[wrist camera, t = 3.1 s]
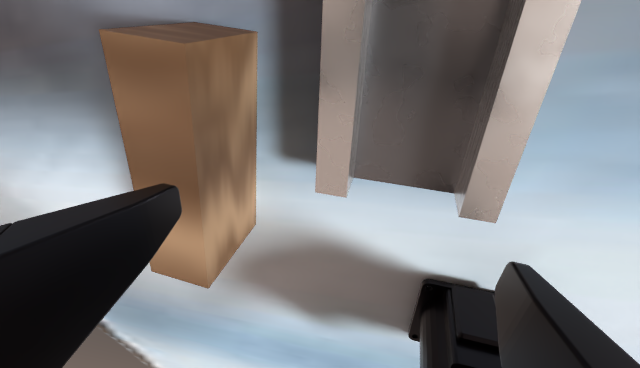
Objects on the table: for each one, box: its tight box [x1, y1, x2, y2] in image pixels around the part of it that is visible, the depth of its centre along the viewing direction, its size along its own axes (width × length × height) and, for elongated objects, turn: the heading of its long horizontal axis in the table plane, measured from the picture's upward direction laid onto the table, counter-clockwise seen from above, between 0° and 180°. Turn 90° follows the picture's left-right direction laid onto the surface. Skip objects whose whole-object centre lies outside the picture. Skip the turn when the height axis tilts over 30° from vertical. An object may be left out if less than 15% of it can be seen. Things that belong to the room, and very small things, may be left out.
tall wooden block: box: [99, 22, 257, 288], centre depth 20 cm, size 14×4×7 cm, turn 174°
